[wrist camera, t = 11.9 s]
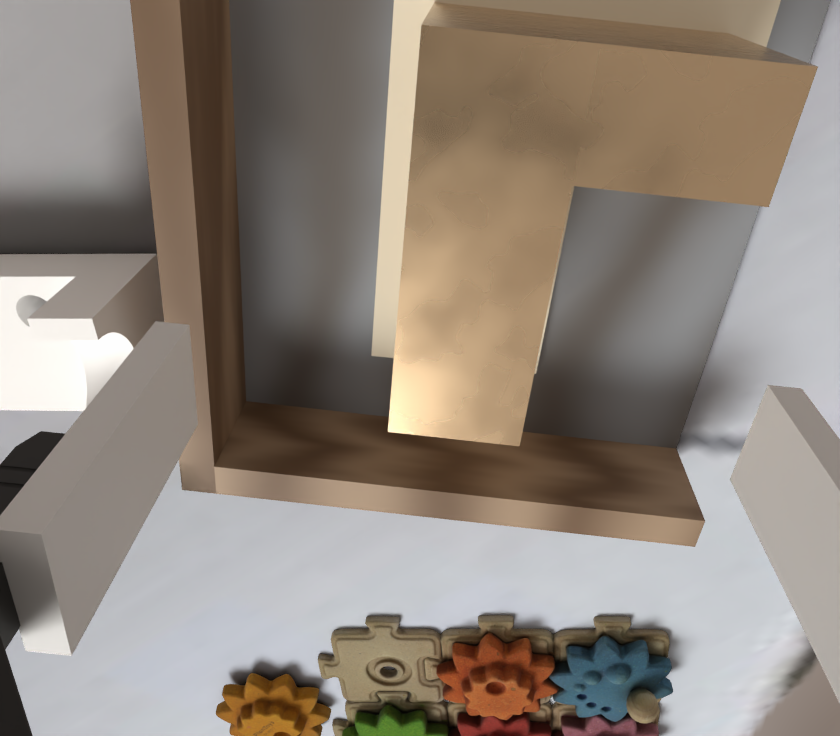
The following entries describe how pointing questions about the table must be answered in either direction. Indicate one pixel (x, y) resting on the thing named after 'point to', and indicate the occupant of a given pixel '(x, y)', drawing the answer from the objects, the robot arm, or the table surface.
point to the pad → (633, 3)
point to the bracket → (71, 324)
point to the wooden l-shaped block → (554, 180)
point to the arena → (356, 284)
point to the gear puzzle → (470, 683)
